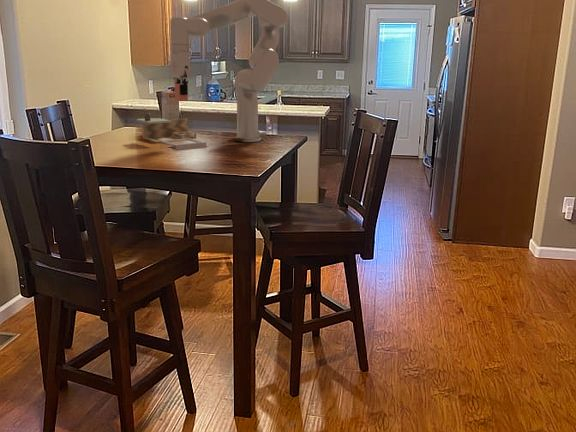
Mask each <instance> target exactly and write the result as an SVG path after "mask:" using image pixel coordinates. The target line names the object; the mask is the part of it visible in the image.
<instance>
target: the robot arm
mask: <svg viewBox="0 0 576 432" xmlns="http://www.w3.org/2000/svg"><path fill="white" fill-rule="evenodd" d="M253 17H257V18H258V19H257V20H258V21H257V22H258V25H259V27H260V37H259V39H258V41H257V43H256V45H255V46H254V48H253V50H252V52H251V53H250V55H249V57H248V64H249V66H250V68H251V69H250V68H249V69H248V68H247V69H246V68H245V69H242V70H239V72H237V73H236V75H235V77H234V86H235V94H236V136H234V138H236V139H240V140H237V142H239V143H257V142H261V141H262V137H261V136H266V135H267V131H265V130H262V131H261V130H259V99H258V93H261V92H263V91H264V90H266V88H267V87H268V86H269V84H270V82H271V80H272V78H273V75H275V73H276V71H277V69H278V66H279V62H280V59H279V57H280V56H279V54H278V52H276V49H277V47H278V44H279V42H280V41H279V40H280V35H279V29H280V28H284V26H286V24H287V22H288V20H289V17H288V13H287V11H286V9H284V8H283V7H282V6H280V5H278V4H276V3H274V2H273V1H271V0H233V1H231V2H229V3H227V4H223V5H221V6H218V7H216V8H214V9H212V10H208V11H205V12H203V13H200V14H197V15H194V16H193V17H190V18H189V17H183V16H181V17H180V16H175V17H174V16H173V17H171V19H170V25H169V26H170V62H169V63H170V65H169V73H170V76H171V77H172V79H173V81H174V84H173V85H175V84H181V85H180V95H188V96H189V93H188V92H189V89H188V87H189V86H188V85H189V80H190V78H191V60H190V59H191V58H190V57H191V56H190V53H191V51H190V45H191V43H190V38H203V37H205V36H206V35H208V34H209V32H210V31H212V30H217V29H223V28H227V27H231V26H234V25H235V24H238V23H240V22H242V21H245V20H247V19H250V18H253Z"/></svg>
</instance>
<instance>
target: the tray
mask: <svg viewBox="0 0 576 432" xmlns="http://www.w3.org/2000/svg"><path fill="white" fill-rule="evenodd" d="M185 141H190V142H191V141H192V143H179V144H178V143H175V142H185ZM173 142H174V143H173ZM160 143H162V144H166V145H169V146H166V148H167V149H172V150H176V151H181V150H182V149H183V150H191V149H200V148H201V149H202V148H207V141H203V140H199V139H196V138H195V139H190V138H188V139H176V140H164V141H160ZM183 150H182V151H183Z"/></svg>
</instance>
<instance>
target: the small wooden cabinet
mask: <svg viewBox="0 0 576 432" xmlns="http://www.w3.org/2000/svg"><path fill="white" fill-rule="evenodd" d="M188 124H189V123H188V118H179V119H172V120H171V123H154V124H148V123H144V122H141V129H142V139H145V140H149V141H151V142H155V143H158V142H161V141H164V140H176V139H188V138H190V139H195V140H196V139H200V137H198V136H197V133H195V132H190V131H189V125H188ZM143 143H145V141H143ZM149 144H151V145H152V143H150V142H149Z"/></svg>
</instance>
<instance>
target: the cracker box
mask: <svg viewBox="0 0 576 432" xmlns="http://www.w3.org/2000/svg"><path fill="white" fill-rule="evenodd" d="M160 96H161V97H160V98H161V114H162V115H161V117H162V118H161V119H166V120H172V119H180V101H175V90H174V91H173V90H162V91H161V95H160Z"/></svg>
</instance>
